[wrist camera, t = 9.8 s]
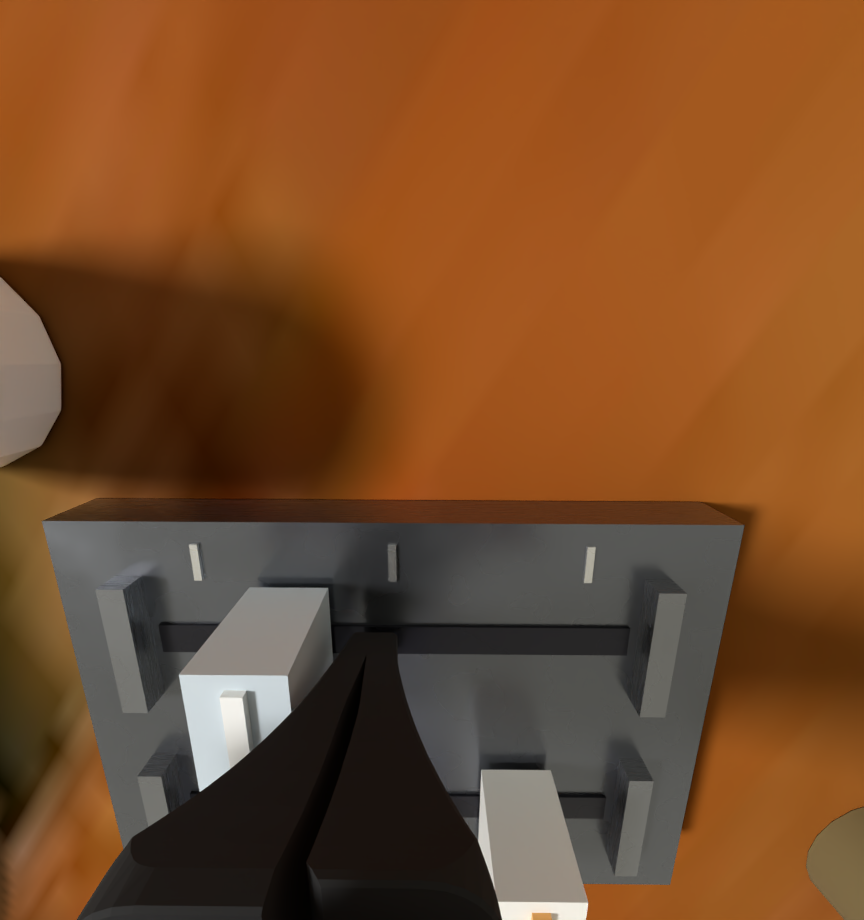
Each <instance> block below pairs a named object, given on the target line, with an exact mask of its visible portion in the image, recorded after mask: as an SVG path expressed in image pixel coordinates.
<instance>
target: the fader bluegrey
mask: <svg viewBox="0 0 864 920" xmlns="http://www.w3.org/2000/svg"><path fill="white" fill-rule="evenodd" d="M332 663H333V652H332V637H331V622H330V607H329V592H328V588H270V587H249V589H248V590H247V591H246V592H245V593H244V595H243V596H242V597H241V598H240V600H239V601H238V602H237V603H236V605H235V606H234V607H233V608H232V610H231V611H230V612H229V613H228V615H227V616H226V617H225V618H224V619H223V621H222V622H221V623H220V624H219V626H218V627H217V628H216V629H215V631H214V632H213V633H212V634H211V636H210V637H209V638H208V639H207V640H206V642H205V643H204V644H203V645H202V647H201V648H200V649H199V650H198V652H197V653H196V654H195V655H194V657H193V658H192V659H191V660H190V662H189V663H188V664H187V665H186V666H185V668H184V669H183V670H182V671H181V673H180V674H179V679H180V685H181V690H182V696H183V702H184V707H185V713H186V718H187V724H188V730H189V735H190V741H191V747H192V752H193V758H194V763H195V769H196V775H197V780H198V786H199V791H200V792H201V791H202V790H203V789H205V788H206V787H208V786H209V785H210V784H211V783H213V782H214V781H215V780H217V779H218V778H219V777H221V776H222V775H223V774H224V773H226V772H227V771H228V770H230V769H231V768H232V767H233V766H234V765H236V764H237V763H238V762H239V761H240V760H242V759H243V758H244V757H245V756H246V755H247V754H248V753H250V752H251V751H252V750H253V749H254V748H255V747H256V746H257V745H258V744H260V743H261V742H262V741H263V740H264V739H265V738H266V737H267V736H268V735H269V734H270V733H271V732H272V731H273V730H274V729H275V728H276V727H277V726H278V725H279V724H280V723H281V722H282V721H283V720H284V719H285V718H286V717H287V716H288V715H289V714H290V713H291V712H292V711H293V710H294V709H295V708H296V707H297V705H298V704H299V703H300V702H301V701H302V700H303V699H304V697H305V696H306V695H307V694H308V693H309V692H310V690H311V689H312V688H313V687H314V686H315V685H316V683H317V682H318V681H319V680H320V678H321V677H322V676H323V674H324V673H325V672H326V671H327V669H328V668H329V667H330V665H331V664H332Z"/></svg>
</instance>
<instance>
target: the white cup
mask: <svg viewBox="0 0 864 920" xmlns="http://www.w3.org/2000/svg"><path fill="white" fill-rule="evenodd" d="M60 412H61V363H60V361H59V358H58V356H57V354H56V352H55V350H54V347H53V345H52V343H51V341H50V338H49V336H48V334H47V332H46V330H45V328H44V325H43V323H42V321H41V319H40V317H39V315H38V314H37V313H36V312H35V311H34V310H33V309H32V308H31V307H30V306H29V305H28V304H27V303H26V302H25V301H24V300H23V299H22V298H21V297H20V296H19V295H18V294H17V293H16V292H15V291H14V290H13V289H12V288H11V287H10V286H9V285H8V284H7V283H6V282H5V281H4V280H3V279H2V278H1V277H0V467H3V466H5V465H7V464H9V463H11V462H13V461H15V460H17V459H18V458H20V457H22V456H24V455H26V454H27V453H29V452H31V451H33V450H35V449H37V448H38V447H40V446H41V445H42V444H43V442H44V441H45V439H46V437H47V435H48V433H49V432H50V430H51V428H52V426H53V424H54V423H55V421H56V419H57V417H58V415H59V413H60Z"/></svg>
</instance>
